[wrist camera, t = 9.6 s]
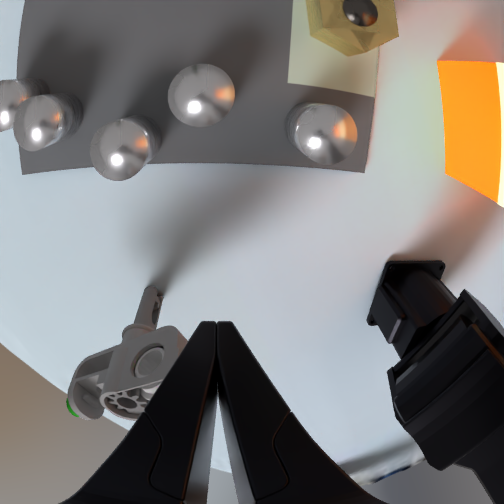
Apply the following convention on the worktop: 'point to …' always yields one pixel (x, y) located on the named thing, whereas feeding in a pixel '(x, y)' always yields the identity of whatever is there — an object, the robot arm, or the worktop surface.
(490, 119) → the orange juice
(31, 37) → the mat
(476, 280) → the worktop surface
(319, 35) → the nut
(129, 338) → the mechanical component
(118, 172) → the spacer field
